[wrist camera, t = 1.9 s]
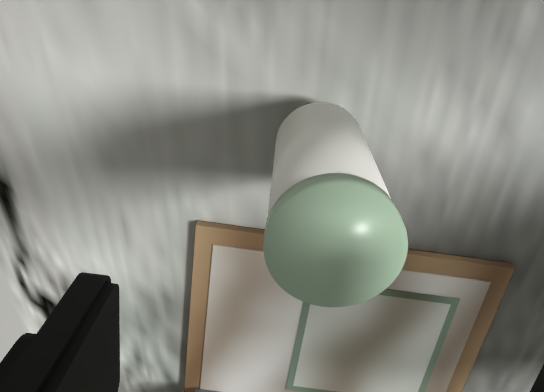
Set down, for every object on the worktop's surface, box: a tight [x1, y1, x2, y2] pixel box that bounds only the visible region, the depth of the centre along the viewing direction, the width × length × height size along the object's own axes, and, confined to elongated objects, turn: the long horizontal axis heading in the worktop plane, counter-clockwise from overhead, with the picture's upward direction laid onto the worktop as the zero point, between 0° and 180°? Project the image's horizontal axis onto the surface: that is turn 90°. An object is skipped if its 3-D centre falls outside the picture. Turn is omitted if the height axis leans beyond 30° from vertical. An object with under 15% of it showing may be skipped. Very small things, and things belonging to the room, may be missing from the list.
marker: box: [263, 102, 408, 307], centre depth 18 cm, size 4×4×10 cm
